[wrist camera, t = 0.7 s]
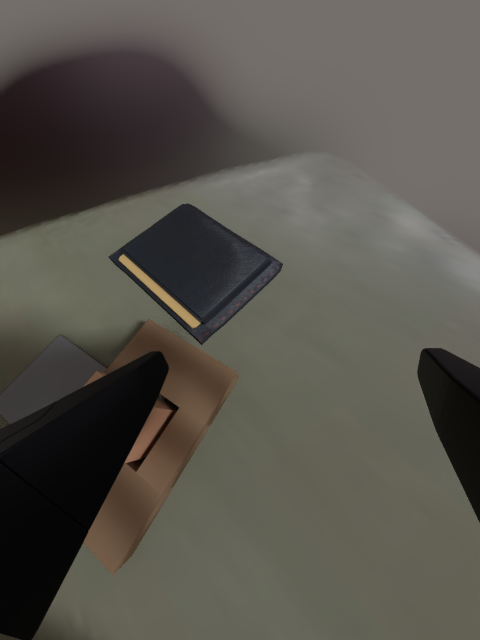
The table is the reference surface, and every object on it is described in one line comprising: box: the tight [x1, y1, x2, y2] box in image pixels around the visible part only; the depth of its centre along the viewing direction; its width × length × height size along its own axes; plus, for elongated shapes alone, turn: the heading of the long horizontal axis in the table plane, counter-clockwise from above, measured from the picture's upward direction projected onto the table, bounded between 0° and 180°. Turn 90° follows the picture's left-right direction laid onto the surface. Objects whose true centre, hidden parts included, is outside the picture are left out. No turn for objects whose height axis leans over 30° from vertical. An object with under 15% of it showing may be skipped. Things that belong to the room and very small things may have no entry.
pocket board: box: [83, 319, 239, 575], centre depth 20 cm, size 16×11×3 cm
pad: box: [0, 335, 107, 424], centre depth 23 cm, size 9×9×1 cm
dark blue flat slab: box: [109, 204, 283, 345], centre depth 30 cm, size 20×2×15 cm
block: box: [83, 371, 178, 463], centre depth 18 cm, size 4×4×8 cm
